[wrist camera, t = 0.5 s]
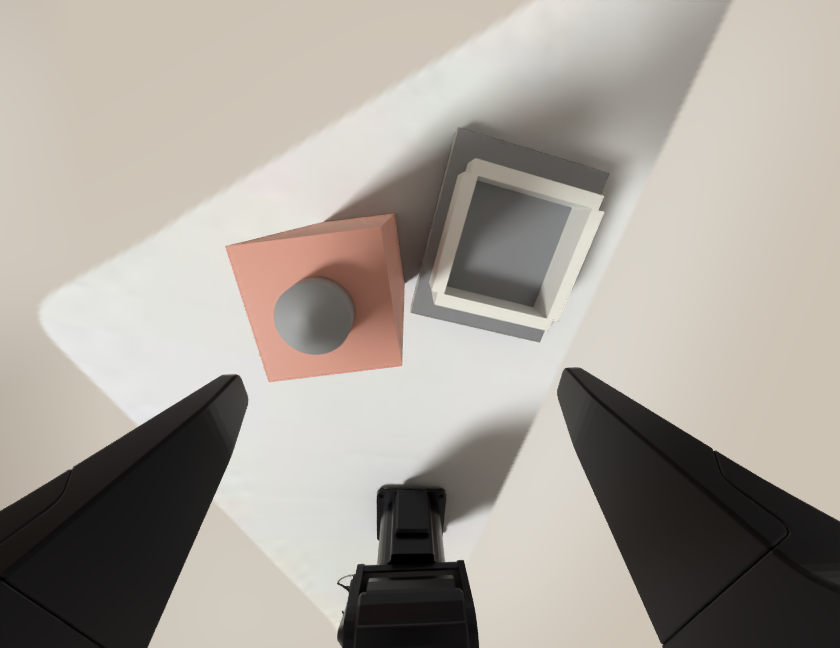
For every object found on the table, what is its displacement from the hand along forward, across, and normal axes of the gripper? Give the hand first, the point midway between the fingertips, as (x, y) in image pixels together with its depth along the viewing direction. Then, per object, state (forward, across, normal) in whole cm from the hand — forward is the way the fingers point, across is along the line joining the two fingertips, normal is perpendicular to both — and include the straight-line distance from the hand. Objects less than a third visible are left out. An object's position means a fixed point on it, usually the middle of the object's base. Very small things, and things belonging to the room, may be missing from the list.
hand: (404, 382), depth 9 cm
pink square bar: (+16, +3, +2) cm, 16 cm away
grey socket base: (+16, -7, +1) cm, 17 cm away
